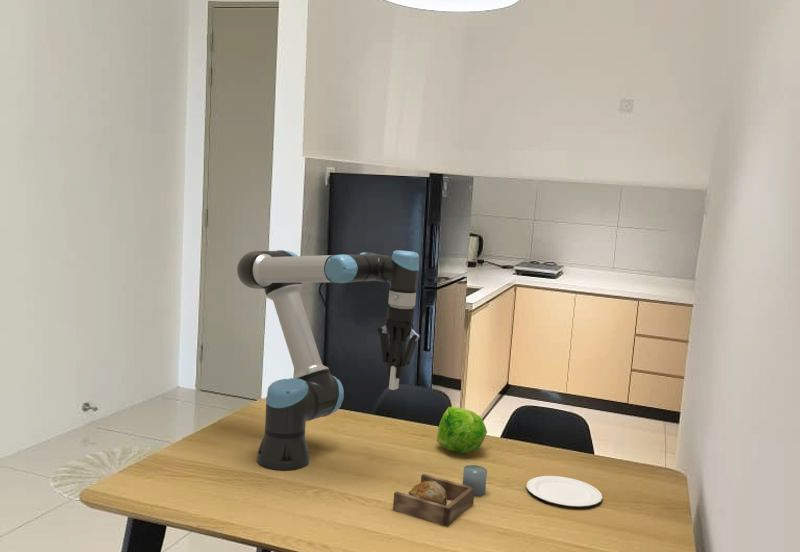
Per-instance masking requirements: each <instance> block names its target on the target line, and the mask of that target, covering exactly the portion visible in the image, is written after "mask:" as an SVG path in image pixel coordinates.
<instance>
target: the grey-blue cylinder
mask: <svg viewBox="0 0 800 552" xmlns="http://www.w3.org/2000/svg"><path fill="white" fill-rule="evenodd" d="M487 476H488V469H487V468H485V467H484V466H482V465H478V464H468V465H465V466H464V467H463V474H462V485H466V486H470V487H473V488H475V490H474V498H481V497H483V496H485V495H486V489H487V479H488V478H487Z"/></svg>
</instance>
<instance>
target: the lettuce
mask: <svg viewBox="0 0 800 552" xmlns="http://www.w3.org/2000/svg"><path fill="white" fill-rule="evenodd" d="M487 434H488V430H487V427H486V424H485V422H484V420H483V418H482V416H480V415H479V414H477V413H476V412H474V411H471V410H469V409H466V408H462V407H458V406H448V407H447V409H446V410H445V412H444V413H443V414H442V417H441V419H440V422H439V426H438V428H437V434H436V435H437V436H436V442H437V443H439V444H440V445H441V447H443V448H444V449H445V450H448V451H450V452H454V453H459V454H463V455H466V454H468V453H471V452H474V451H476V450H478V449H480V448H481V446H482V444H483V443H484V440H485V439H486V438H485V437H486V436H487Z"/></svg>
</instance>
